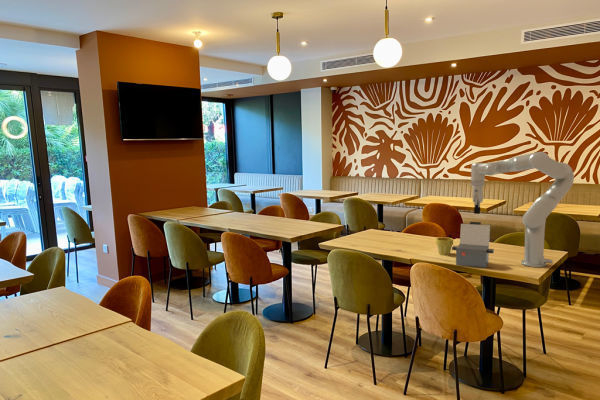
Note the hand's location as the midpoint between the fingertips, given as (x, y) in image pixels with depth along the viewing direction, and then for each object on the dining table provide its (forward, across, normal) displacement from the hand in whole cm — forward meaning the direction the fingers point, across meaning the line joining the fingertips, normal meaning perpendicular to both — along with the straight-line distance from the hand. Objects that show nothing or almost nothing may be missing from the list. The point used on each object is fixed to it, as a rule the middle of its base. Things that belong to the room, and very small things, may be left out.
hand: (477, 213), depth 263 cm
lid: (+10, -9, 0) cm, 14 cm away
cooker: (+27, -17, 0) cm, 32 cm away
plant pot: (+27, +1, +19) cm, 33 cm away
